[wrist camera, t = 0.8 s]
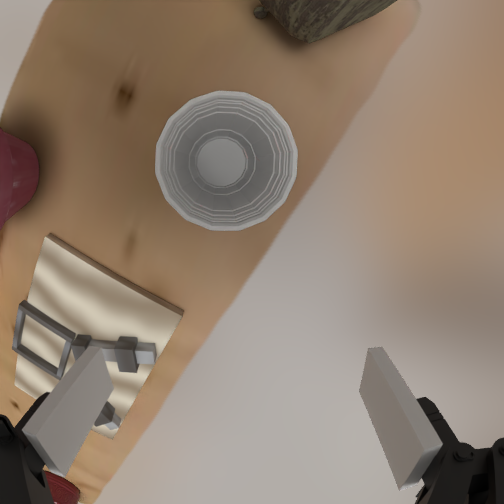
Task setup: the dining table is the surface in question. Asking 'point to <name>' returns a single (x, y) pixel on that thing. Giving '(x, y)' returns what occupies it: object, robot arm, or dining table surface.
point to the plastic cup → (226, 161)
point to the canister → (62, 490)
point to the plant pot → (16, 175)
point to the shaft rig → (88, 328)
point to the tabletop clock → (319, 15)
